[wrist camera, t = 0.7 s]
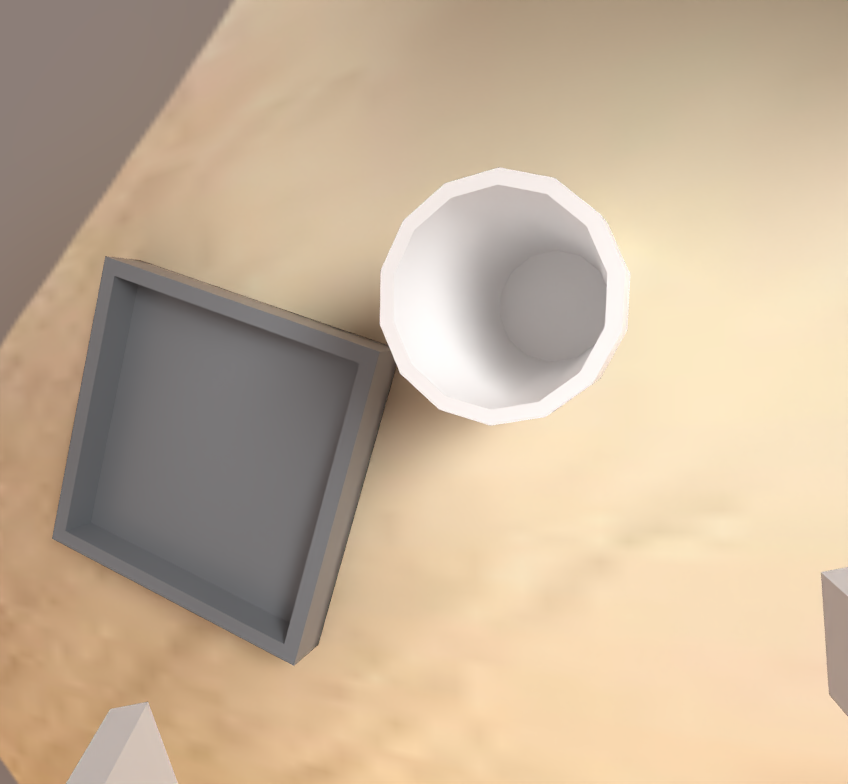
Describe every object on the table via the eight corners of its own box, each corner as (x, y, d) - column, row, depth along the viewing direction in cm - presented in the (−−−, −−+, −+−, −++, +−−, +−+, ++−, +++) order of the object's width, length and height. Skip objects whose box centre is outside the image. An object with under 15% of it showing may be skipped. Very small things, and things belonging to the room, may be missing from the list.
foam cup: (448, 265, 40) (344, 239, 28) (600, 186, 37) (558, 118, 25) (513, 418, 40) (436, 460, 27) (674, 353, 36) (668, 367, 24)
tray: (139, 260, 48) (105, 256, 45) (400, 349, 42) (379, 351, 39) (86, 526, 52) (52, 538, 49) (318, 644, 45) (294, 665, 43)
